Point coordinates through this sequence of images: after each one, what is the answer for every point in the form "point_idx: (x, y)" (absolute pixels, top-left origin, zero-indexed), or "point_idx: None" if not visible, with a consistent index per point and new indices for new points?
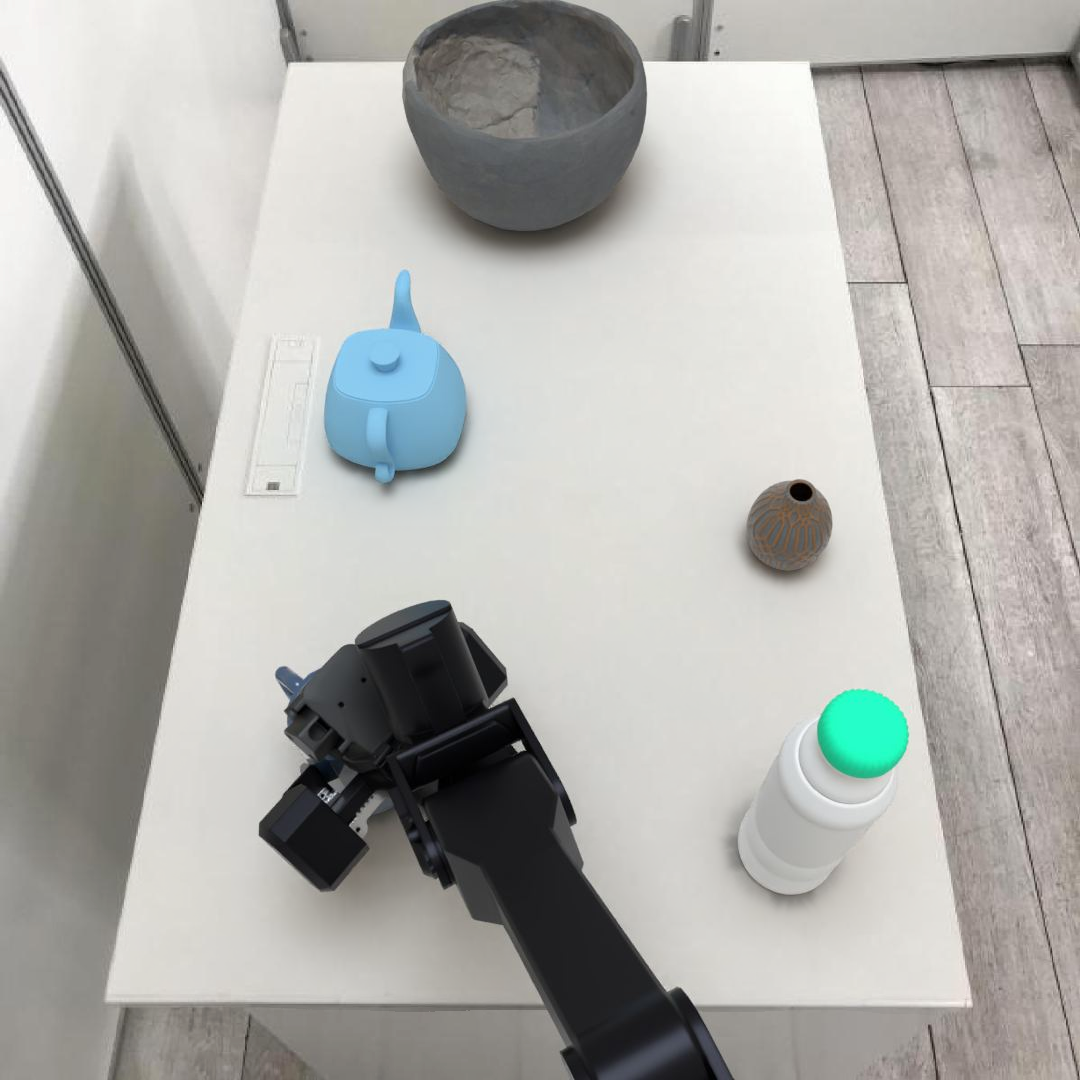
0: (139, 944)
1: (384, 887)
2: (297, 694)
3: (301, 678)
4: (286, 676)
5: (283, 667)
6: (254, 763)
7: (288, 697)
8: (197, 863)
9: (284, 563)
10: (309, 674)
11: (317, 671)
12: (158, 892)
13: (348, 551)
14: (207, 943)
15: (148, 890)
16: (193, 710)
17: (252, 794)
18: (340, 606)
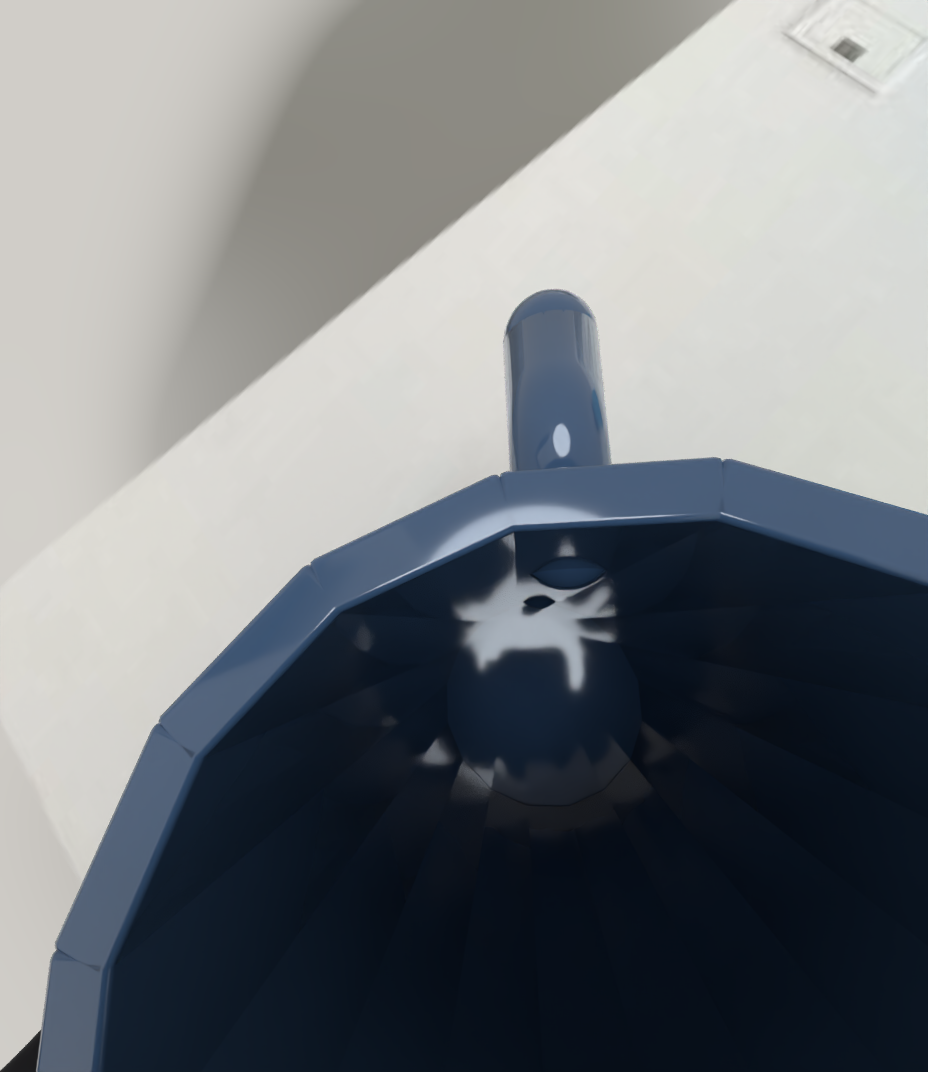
0: (29, 589)
1: None
2: (470, 541)
3: (604, 427)
4: (549, 354)
5: (576, 303)
6: (391, 487)
7: (508, 443)
8: (186, 556)
9: (742, 197)
10: (722, 465)
11: (819, 505)
12: (111, 543)
13: (879, 263)
14: (88, 689)
15: (105, 526)
16: (392, 320)
17: (343, 533)
18: (769, 352)
